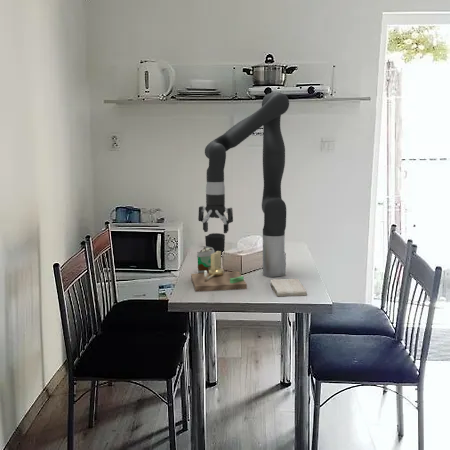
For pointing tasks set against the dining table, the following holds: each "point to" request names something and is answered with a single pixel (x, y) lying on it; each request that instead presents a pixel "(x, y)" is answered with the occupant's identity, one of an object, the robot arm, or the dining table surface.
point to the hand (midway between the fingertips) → (215, 232)
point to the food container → (204, 259)
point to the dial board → (219, 282)
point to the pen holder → (215, 241)
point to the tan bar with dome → (214, 266)
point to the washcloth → (288, 287)
